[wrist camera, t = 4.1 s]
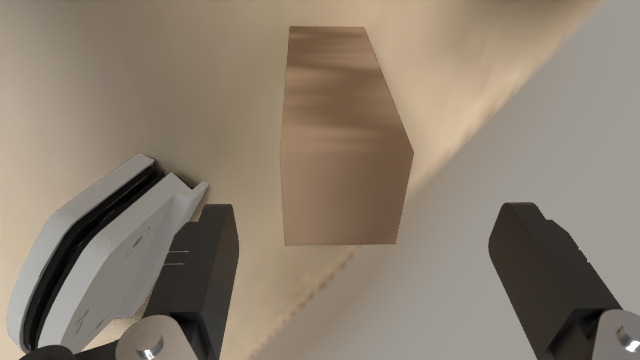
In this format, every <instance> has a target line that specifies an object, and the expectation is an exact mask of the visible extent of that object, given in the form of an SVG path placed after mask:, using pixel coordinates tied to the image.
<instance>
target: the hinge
mask: <svg viewBox="0 0 640 360" xmlns="http://www.w3.org/2000/svg"><path fill="white" fill-rule="evenodd" d="M153 163H154V160H153V159H151V158H149V157H147V156H145V155H141V154H136V155H134V156H133V157H132V158H130V159H129V160H127V161H126V162H124V163H123V164H122V165H120V166H119V167H117V168H116V169H115V170H113V171H112V172H110V173H109V174H107V175H106V176H105V177H103V178H102V179H100V180H99V181H98V182H96V183H95V184H93V185H92V186H90V187H89V188H88V189H86V190H85V191H83V192H82V193H81V194H79V195H78V196H76V197H75V198H73V199H72V200H71V201H69V202H68V203H66V204H65V205H64V206H62V207H61V208H59V209H58V210H57V211H56V212H55V213H54V214H53V215H52V216H51V217H50V218H49V219H48V221H47V222H46V224H45V225H44V227H43V229H42V230H41V232H40V234H39V236H38V237H37V239H36V241H35V243H34V245H33V246H32V248H31V250H30V252H29V254H28V256H27V258H26V260H25V262H24V265H23V267H22V269H21V271H20V274H19V276H18V278H17V281H16V283H15V286H14V289H13V292H12V295H11V299H10V302H9V306H8V312H7V331H8V334H9V336H10V337H11V339H12V340H13V341H14V342H15V343H16V345H17V346H18V347H19V348H20V349H21V350H22V351H23V352H24V353H25V354H28V353H29V352H31V351H33V350H35V349H38V348H40V347H44V346H48V345H62V346H65V347H67V348H68V349H70V350H71V352H72V353H73V354H76V353H80V352H81V351H82V350H83V349H84V348H85V347H86V346H87V345H88V344H89V343H90V342H91V341H92V340H93V339H94V338H95V337H96V336H97V335H98V334H99V333H100V332H101V331H102V330H103V329H104V328H105V326H106V325H107V324H108V323H109V322H110V321H112V320H113V319H121V318H130V317H132V316H133V315H134V314H135V313H136V312H137V310H138V309H139V308H140V307H141V306H142V305H143V304H144V302H145V300H146V299H147V297H148V295H149V293H150V291H151V290H152V288H153V286H154V284H155V282H156V280H157V279H158V277H159V274H160V271H161V269H162V266H164V261H165V258H166V256H167V253H169V248H170V245H171V243H172V240H173V237H174V235H175V234H176V233H177V232H178V231H179V230H180V229H181V228H182V226H183V225H184V224H185V223H186V222H189V220H190V218H191V217H192V215H193V213H194V211H195V209H196V208H197V206H198V204H199V202H200V200H201V198H202V197H203V195H204V193H205V191H206V189H207V188H208V186H209V184H207V183H206V182H204V181H202V182H201V183H200V184H198V185H197V186H196V187H195V188H194V189H193V190H191V189H190V188H189V187H188V186H187V185H186V184H184V183H183V182H182V181H181V180H180V179H179V178H178V177H177V176H175V175H174V174H173V173H172V172H170V173H169V174H168V175H167V176H166V175H164V174H163V173H161V174H160V175H159V176H158V177H156V178H155V179H154V180H153V181H151V179H152V177H153V175H154V173H155V170H156V169H155V168H154V167H153V166H152V165H153Z"/></svg>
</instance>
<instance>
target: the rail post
mask: <svg viewBox="0 0 640 360" xmlns="http://www.w3.org/2000/svg"><path fill="white" fill-rule="evenodd" d="M413 155H414V152H413V149H412V147H411V144H410V141H409V139H408V136H407V134H406V131H405V129H404V126H403V124H402V121H401V119H400V116H399V114H398V111H397V109H396V106H395V104H394V101H393V99H392V96H391V94H390V91H389V89H388V86H387V83H386V81H385V78H384V76H383V73H382V71H381V68H380V66H379V63H378V61H377V58H376V56H375V53H374V51H373V48H372V46H371V43H370V41H369V38H368V36H367V33H366V31H365V28H364V27H293V26H290V31H289V43H288V56H287V68H286V81H285V93H284V106H283V118H282V131H281V143H280V168H281V186H282V205H283V223H284V242H285V246H291V245H364V244H396V239H397V234H398V229H399V224H400V219H401V214H402V209H403V204H404V199H405V194H406V189H407V184H408V179H409V174H410V169H411V164H412V160H413Z"/></svg>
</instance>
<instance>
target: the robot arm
mask: <svg viewBox="0 0 640 360" xmlns="http://www.w3.org/2000/svg"><path fill="white" fill-rule="evenodd" d="M488 246H489V247H488V248H489V254H490V258H491V260H492V263H493V265H494V267H495V269H496V271H497V273H498V276H499V278H500V280H501V282H502V284H503V286H504V288H505V291H506V293H507V295H508V297H509V299H510V301H511V304H512V306H513V308H514V310H515V312H516V314H517V316H518V319H519V321H520V323H521V325H522V327H523V329H524V331H525V334H526V336H527V338H528V340H529V342H530V344H531V347H532V349H533V351H534V353H535V355H536V357H537V359H538V360H640V316H639V315H637V314H634V313H632V312H629V311H625V310H623V309H622V308H621V306H620V305H619V303H618V302H617V300H616V299H615V298H614V296H613V295H612V294H611V292H610V291H609V289H608V288H607V287H606V285H605V284H604V282H603V281H602V280H601V278H600V277H599V275H598V274H597V272H596V271H595V270H594V268H593V267H592V265H591V264H590V263H588V262H587V258H586V257H585V256H584V255H583V253H582V252H581V250H579V249H578V246H577V244H576V243H575V242H574V240H573V239H572V238H571V236H570V235H569V233H568V232H567V231H565V230H564V229H563V228H562V227H560V226H559V225H558V224H557V223H555V222H554V221H553V220H546V219H545V217H544V216H543V214H542V213H541V212H540V210H539V209H538V207H537V206H536V205H535V204H534V203H531V202H527V203H526V202H517V203H504V204H503V205H502V207H501V209H500V212H499V215H498V218H497V220H496V222H495V225H494V227H493V230H492V233H491V235H490V238H489V245H488ZM238 258H239V240H238V234H237V229H236V223H235V218H234V212H233V207H232V205H231V204H206V205H204V207H203V210H202V213H201V216H200V219H199V222H186V223H185V224H184V225H183V226H182V228H181V229H180V230H179V231H178V232H177V233H176V234H175V235H174V237H173V240H172V243H171V245H170V248H169V253H167V256H166V258H165V261H164V266H162V269H161V271H160V274H159V277H158V279H157V282H156V284H155V287H154V290H153V292H152V295H151V297H150V300H149V303H148V305H147V308H146V310H145V313H144V315H143V317H142V318H141V320H139V321H137V322H136V323H134V324H133V325H131V326H130V327H129V328H128V329H127V330H126V331H125V332H124V333H123V335H122V336H121V338H120V339H118V340H116V341H114V342H111V343H109V344H106V345H102V346H99V347H96V348H93V349H89V350H86V351H83V352H80V353H76V354H73V353H72V352H71V350H70V349H68V348H67V347H65V346H62V345H48V346H44V347H40V348H38V349H35V350H33V351H31V352H29V353H28V354H26V355H25V356H23V357H22V358H21V359H19V360H219V357H220V352H221V347H222V342H223V336H224V331H225V326H226V321H227V316H228V310H229V305H230V300H231V295H232V290H233V285H234V279H235V274H236V269H237V264H238Z"/></svg>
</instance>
